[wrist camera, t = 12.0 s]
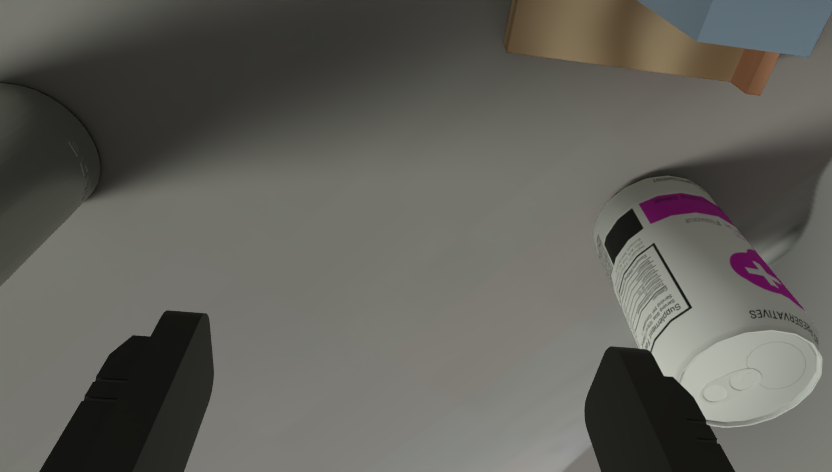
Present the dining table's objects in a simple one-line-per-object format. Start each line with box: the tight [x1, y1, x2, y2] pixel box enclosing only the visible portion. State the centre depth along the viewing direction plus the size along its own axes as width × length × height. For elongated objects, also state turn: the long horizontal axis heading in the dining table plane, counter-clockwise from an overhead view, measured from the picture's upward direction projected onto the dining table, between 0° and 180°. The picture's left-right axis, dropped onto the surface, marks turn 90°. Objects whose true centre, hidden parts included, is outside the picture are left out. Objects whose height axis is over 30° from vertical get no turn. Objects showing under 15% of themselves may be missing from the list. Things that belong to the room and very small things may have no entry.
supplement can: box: [594, 175, 822, 428], centre depth 35 cm, size 8×8×15 cm
